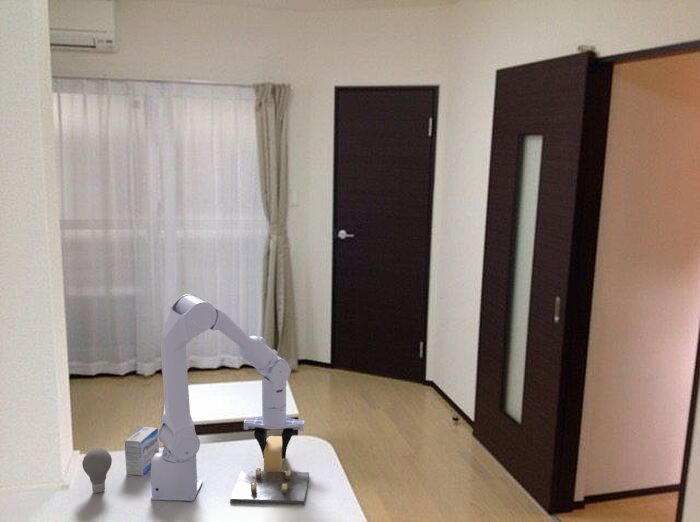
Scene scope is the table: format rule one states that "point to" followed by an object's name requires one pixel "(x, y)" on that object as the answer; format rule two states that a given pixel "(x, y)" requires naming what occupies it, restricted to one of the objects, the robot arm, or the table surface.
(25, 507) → the table surface
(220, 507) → the table surface
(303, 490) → the chassis plate
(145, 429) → the medicine box
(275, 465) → the ochre block
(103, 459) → the light bulb
